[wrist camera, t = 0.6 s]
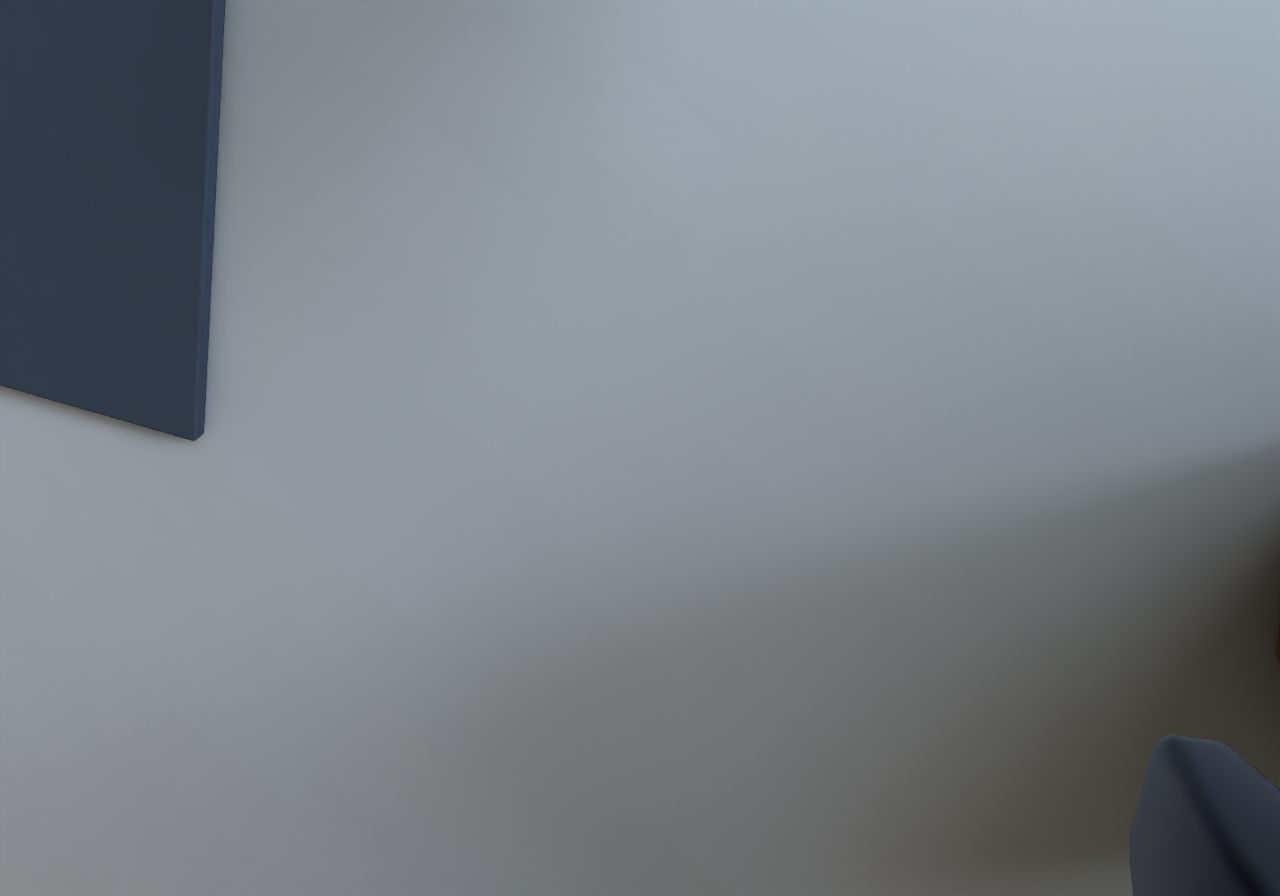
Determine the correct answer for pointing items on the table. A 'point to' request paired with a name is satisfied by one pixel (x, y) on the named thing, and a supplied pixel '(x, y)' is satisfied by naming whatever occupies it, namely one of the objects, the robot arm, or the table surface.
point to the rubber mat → (109, 204)
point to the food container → (1278, 637)
